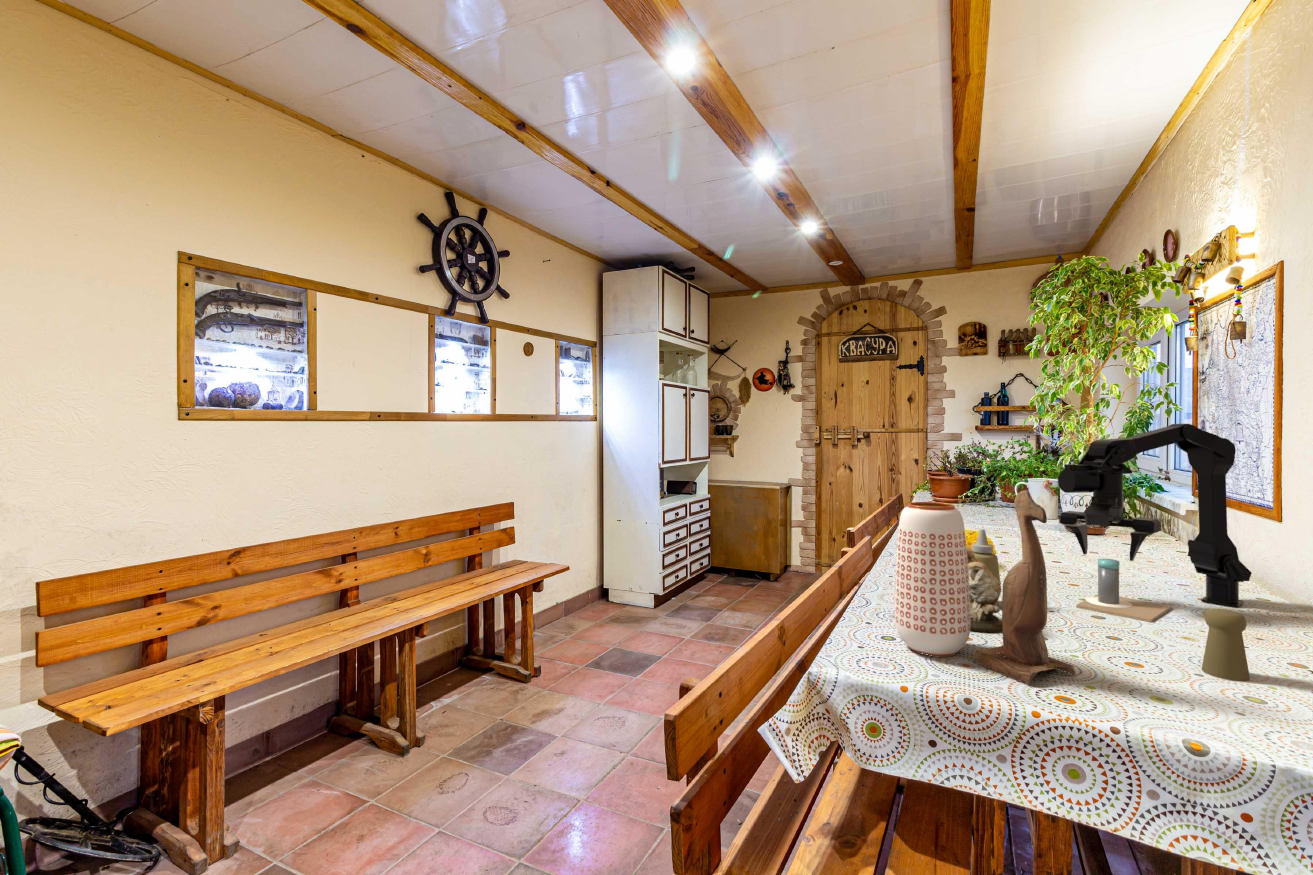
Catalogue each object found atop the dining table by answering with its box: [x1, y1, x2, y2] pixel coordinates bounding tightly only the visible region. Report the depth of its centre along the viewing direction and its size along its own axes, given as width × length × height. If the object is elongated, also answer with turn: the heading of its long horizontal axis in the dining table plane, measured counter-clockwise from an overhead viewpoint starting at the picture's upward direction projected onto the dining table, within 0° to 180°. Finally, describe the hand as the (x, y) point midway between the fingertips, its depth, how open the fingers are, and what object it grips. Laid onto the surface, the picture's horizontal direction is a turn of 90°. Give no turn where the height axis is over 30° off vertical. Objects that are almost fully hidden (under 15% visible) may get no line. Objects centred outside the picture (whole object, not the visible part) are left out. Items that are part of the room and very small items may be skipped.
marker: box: [1097, 558, 1120, 605], centre depth 142 cm, size 4×4×10 cm
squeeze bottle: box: [971, 529, 1002, 606], centre depth 144 cm, size 8×8×18 cm
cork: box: [1201, 608, 1251, 682], centre depth 102 cm, size 6×6×11 cm
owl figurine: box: [967, 546, 1003, 634], centre depth 132 cm, size 18×12×17 cm, turn 36°
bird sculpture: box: [972, 489, 1077, 686], centre depth 104 cm, size 11×12×32 cm
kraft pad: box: [1075, 594, 1173, 623], centre depth 140 cm, size 16×14×1 cm
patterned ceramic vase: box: [894, 501, 971, 658], centre depth 115 cm, size 13×13×28 cm
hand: (1107, 557), depth 142 cm, fingers open, 9 cm apart
